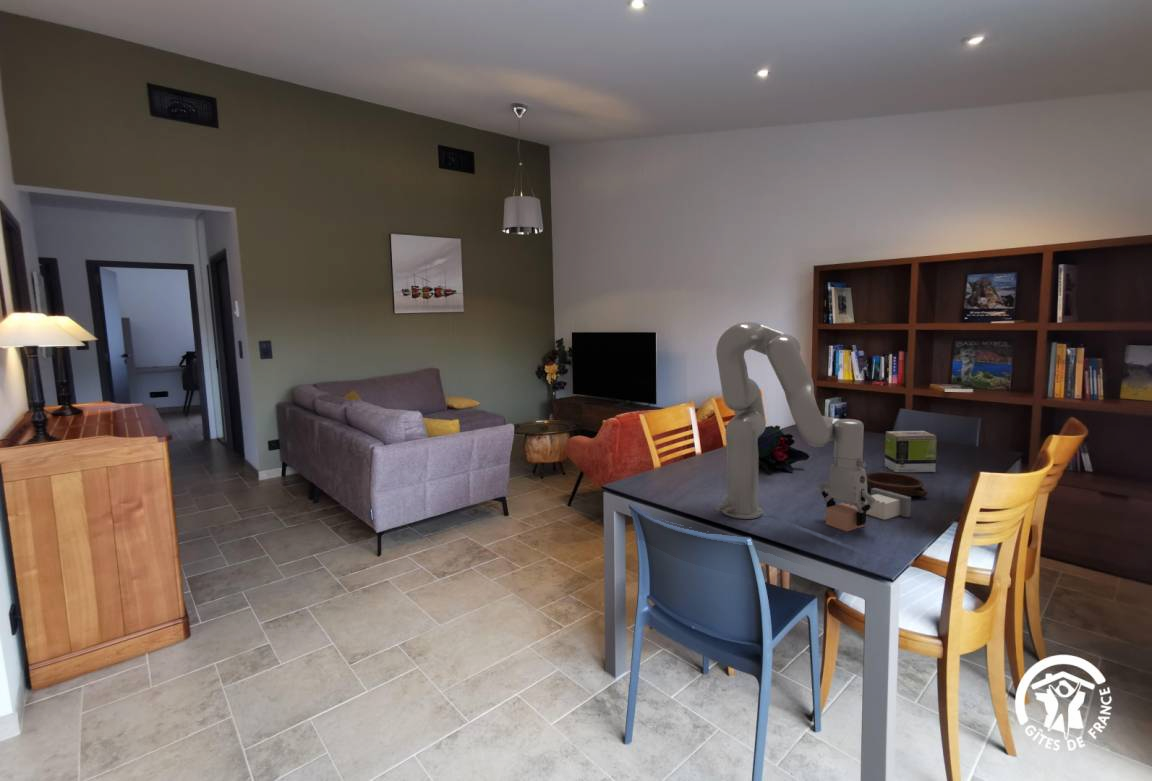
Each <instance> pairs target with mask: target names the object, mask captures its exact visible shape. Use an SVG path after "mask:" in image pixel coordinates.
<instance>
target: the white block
mask: <svg viewBox="0 0 1152 781" xmlns="http://www.w3.org/2000/svg"><path fill="white" fill-rule="evenodd" d="M870 495H871V496H872V497H873V498H874V499H875V500H876V502H875V504H874V505H873V507H872V508H871V509H869V510H868V511H867V512H866V515H868V516H871V517H873V518H878V519H880V520H884V521H885V520H889V519H892V518H894V517H898V516H901V517H904V518H909V517H911V507H912V506H911V505H912V496H909V497H908V496H904V495H900V494H896V493H893V492H889V491H885V490H881V489H878V488H872V489H871V490H870ZM867 503H868V501H866V502H865V504H866V505H867Z"/></svg>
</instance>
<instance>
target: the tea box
mask: <svg viewBox="0 0 1152 781" xmlns="http://www.w3.org/2000/svg"><path fill="white" fill-rule="evenodd" d="M937 438H938V435H937V434H936V435H935V434H934V433H931V432H928V431H926V430H895V431H894V430H891V431H888V430H886V431H885V441H884V443H885V447H884V467H886V468H887V467H888V468H887V469H889V470H891V471H892V470H893V471H892V472H893V473H936V470H937V468H936V466H937V442H938V441H937Z"/></svg>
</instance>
